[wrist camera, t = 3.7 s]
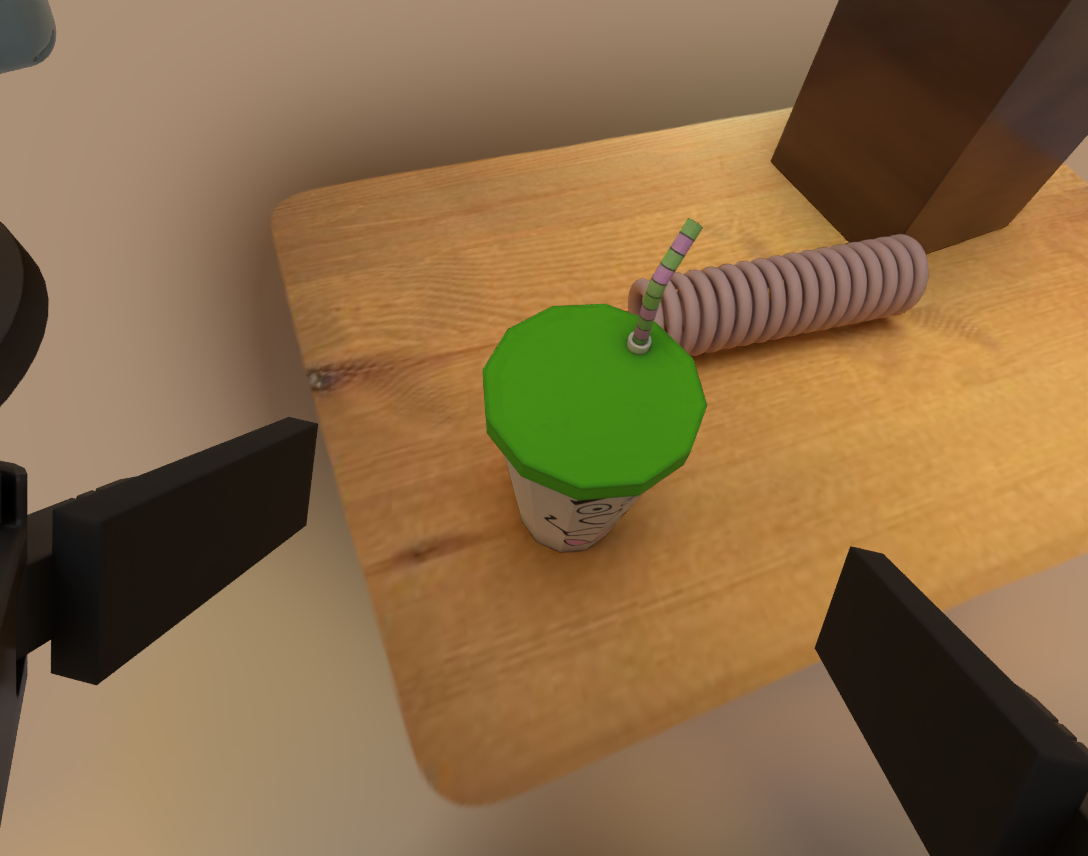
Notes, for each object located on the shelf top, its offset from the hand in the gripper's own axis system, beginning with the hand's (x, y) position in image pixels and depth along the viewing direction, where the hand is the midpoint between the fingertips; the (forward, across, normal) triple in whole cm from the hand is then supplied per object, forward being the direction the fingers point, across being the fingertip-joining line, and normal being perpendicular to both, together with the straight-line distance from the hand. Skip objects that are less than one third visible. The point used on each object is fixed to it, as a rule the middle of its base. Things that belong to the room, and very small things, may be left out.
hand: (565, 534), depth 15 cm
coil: (+25, +9, +5) cm, 27 cm away
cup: (+15, 0, -5) cm, 15 cm away
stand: (+36, +17, +16) cm, 43 cm away
